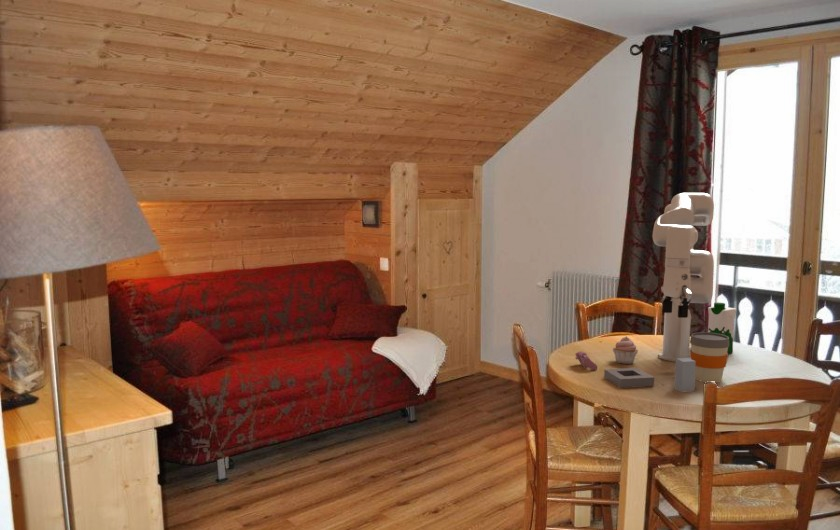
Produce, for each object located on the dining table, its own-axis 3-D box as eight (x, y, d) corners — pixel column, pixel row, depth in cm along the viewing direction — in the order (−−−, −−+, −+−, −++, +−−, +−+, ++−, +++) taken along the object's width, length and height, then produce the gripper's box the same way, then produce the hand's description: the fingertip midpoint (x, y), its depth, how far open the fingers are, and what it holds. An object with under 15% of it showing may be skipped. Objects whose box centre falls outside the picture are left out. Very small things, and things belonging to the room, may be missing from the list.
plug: (686, 387, 226) (688, 357, 225) (694, 391, 222) (695, 361, 221) (674, 387, 226) (675, 358, 224) (681, 391, 221) (683, 361, 220)
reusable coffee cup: (708, 385, 228) (710, 341, 226) (680, 375, 240) (682, 333, 238) (735, 381, 233) (738, 338, 231) (706, 372, 245) (709, 331, 243)
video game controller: (579, 367, 255) (571, 351, 254) (590, 362, 256) (582, 346, 255) (587, 375, 246) (579, 358, 245) (599, 369, 246) (591, 352, 245)
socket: (636, 376, 239) (636, 367, 239) (653, 386, 227) (654, 377, 227) (604, 377, 237) (604, 369, 237) (620, 387, 225) (620, 379, 225)
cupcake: (624, 366, 251) (625, 340, 250) (606, 360, 260) (607, 335, 258) (643, 363, 256) (644, 337, 254) (625, 357, 264) (626, 332, 263)
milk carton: (703, 351, 275) (705, 302, 272) (716, 348, 280) (719, 300, 277) (723, 355, 267) (726, 305, 265) (736, 352, 272) (739, 303, 270)
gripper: (702, 266, 217) (699, 319, 218) (674, 261, 234) (671, 310, 235) (680, 266, 216) (678, 319, 217) (653, 261, 233) (651, 311, 234)
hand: (674, 315), depth 226 cm, fingers open, 9 cm apart
